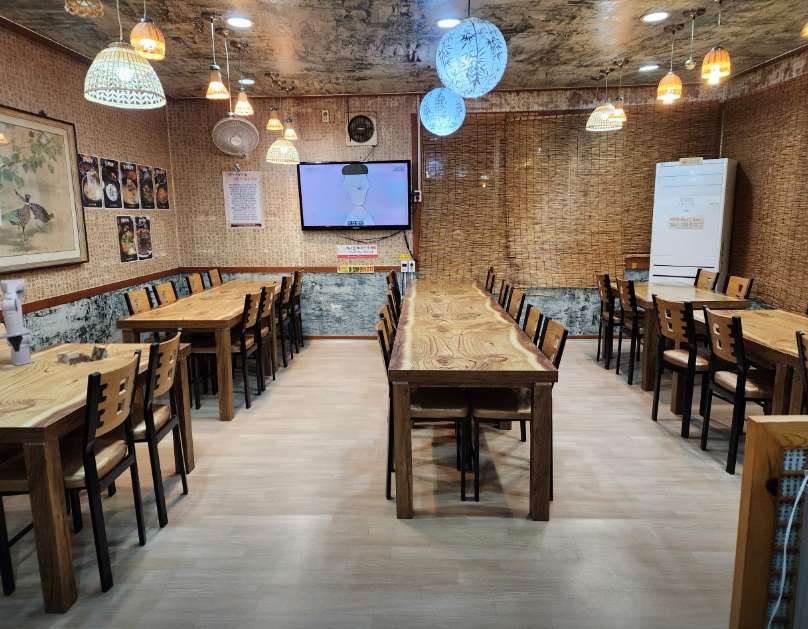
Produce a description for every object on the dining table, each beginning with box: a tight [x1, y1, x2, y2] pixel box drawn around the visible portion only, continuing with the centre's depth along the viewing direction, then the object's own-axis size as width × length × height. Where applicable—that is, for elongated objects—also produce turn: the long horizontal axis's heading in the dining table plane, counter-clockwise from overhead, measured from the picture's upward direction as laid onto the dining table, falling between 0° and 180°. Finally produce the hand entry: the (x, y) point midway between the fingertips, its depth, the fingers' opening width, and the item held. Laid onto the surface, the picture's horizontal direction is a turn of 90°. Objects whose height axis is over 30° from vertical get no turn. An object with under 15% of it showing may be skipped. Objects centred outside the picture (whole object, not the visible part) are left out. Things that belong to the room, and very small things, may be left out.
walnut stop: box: [69, 352, 91, 366], centre depth 270 cm, size 18×8×3 cm, turn 54°
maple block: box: [56, 350, 80, 364], centre depth 269 cm, size 8×6×5 cm
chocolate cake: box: [90, 345, 108, 362], centre depth 275 cm, size 10×7×12 cm
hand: (17, 351), depth 253 cm, fingers closed
